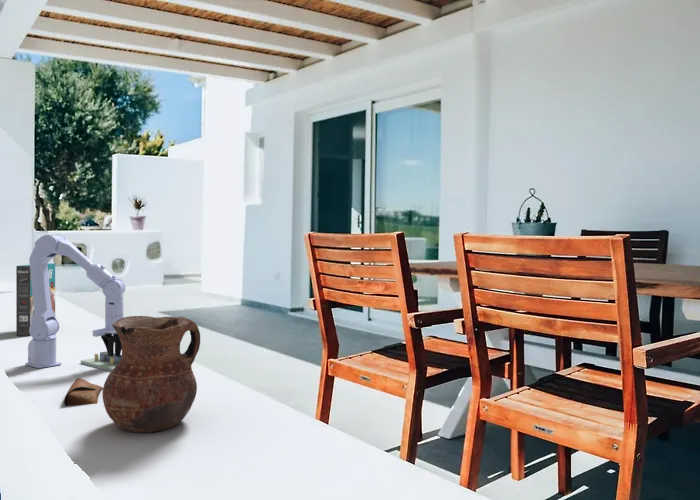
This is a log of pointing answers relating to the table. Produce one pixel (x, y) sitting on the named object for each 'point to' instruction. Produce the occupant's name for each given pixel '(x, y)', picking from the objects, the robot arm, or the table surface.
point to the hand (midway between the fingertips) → (114, 355)
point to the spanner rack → (100, 363)
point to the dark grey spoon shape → (106, 358)
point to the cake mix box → (29, 297)
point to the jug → (152, 373)
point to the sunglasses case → (82, 393)
